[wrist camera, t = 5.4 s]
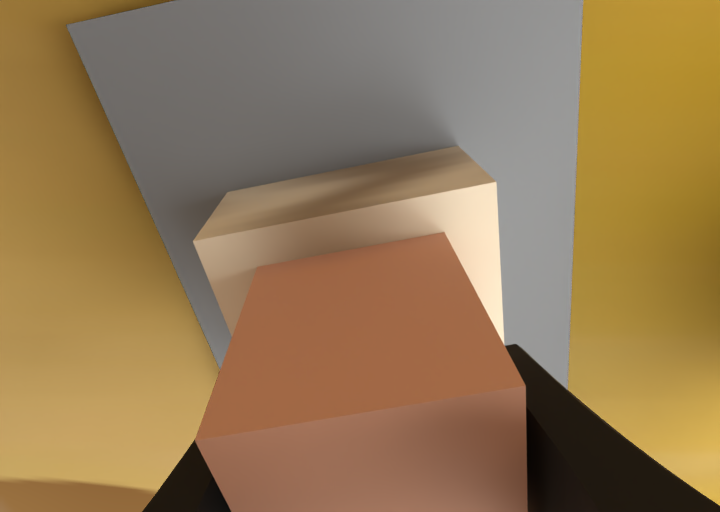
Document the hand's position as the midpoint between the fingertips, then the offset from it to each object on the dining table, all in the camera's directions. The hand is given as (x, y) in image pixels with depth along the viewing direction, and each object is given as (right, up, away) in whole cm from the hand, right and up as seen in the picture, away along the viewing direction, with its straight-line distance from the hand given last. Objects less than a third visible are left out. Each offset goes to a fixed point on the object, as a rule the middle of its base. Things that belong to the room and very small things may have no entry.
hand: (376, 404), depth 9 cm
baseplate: (0, +3, +7) cm, 7 cm away
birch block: (0, +3, +5) cm, 6 cm away
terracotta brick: (0, +1, +2) cm, 2 cm away
